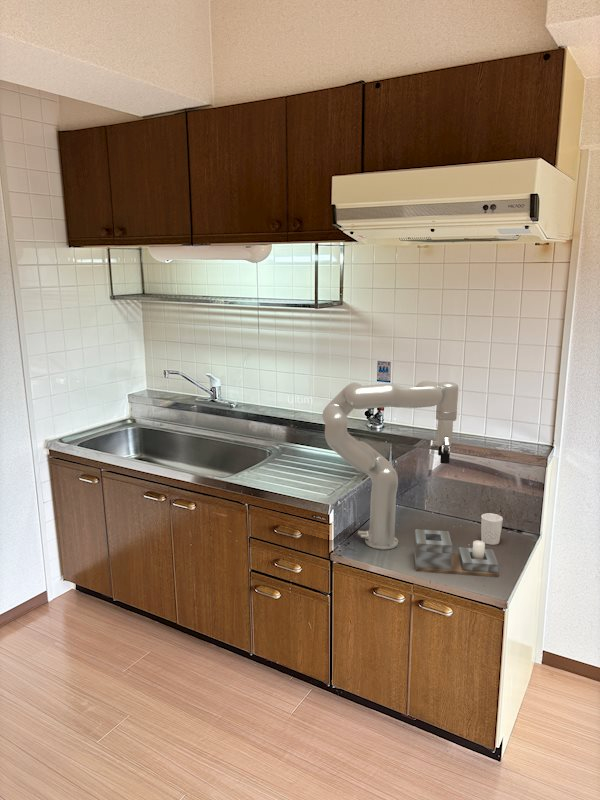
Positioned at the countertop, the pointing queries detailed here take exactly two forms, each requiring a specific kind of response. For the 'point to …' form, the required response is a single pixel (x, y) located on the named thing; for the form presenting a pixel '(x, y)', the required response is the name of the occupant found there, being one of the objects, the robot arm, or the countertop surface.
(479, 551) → the peg
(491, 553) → the socket board
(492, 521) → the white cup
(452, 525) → the countertop surface
